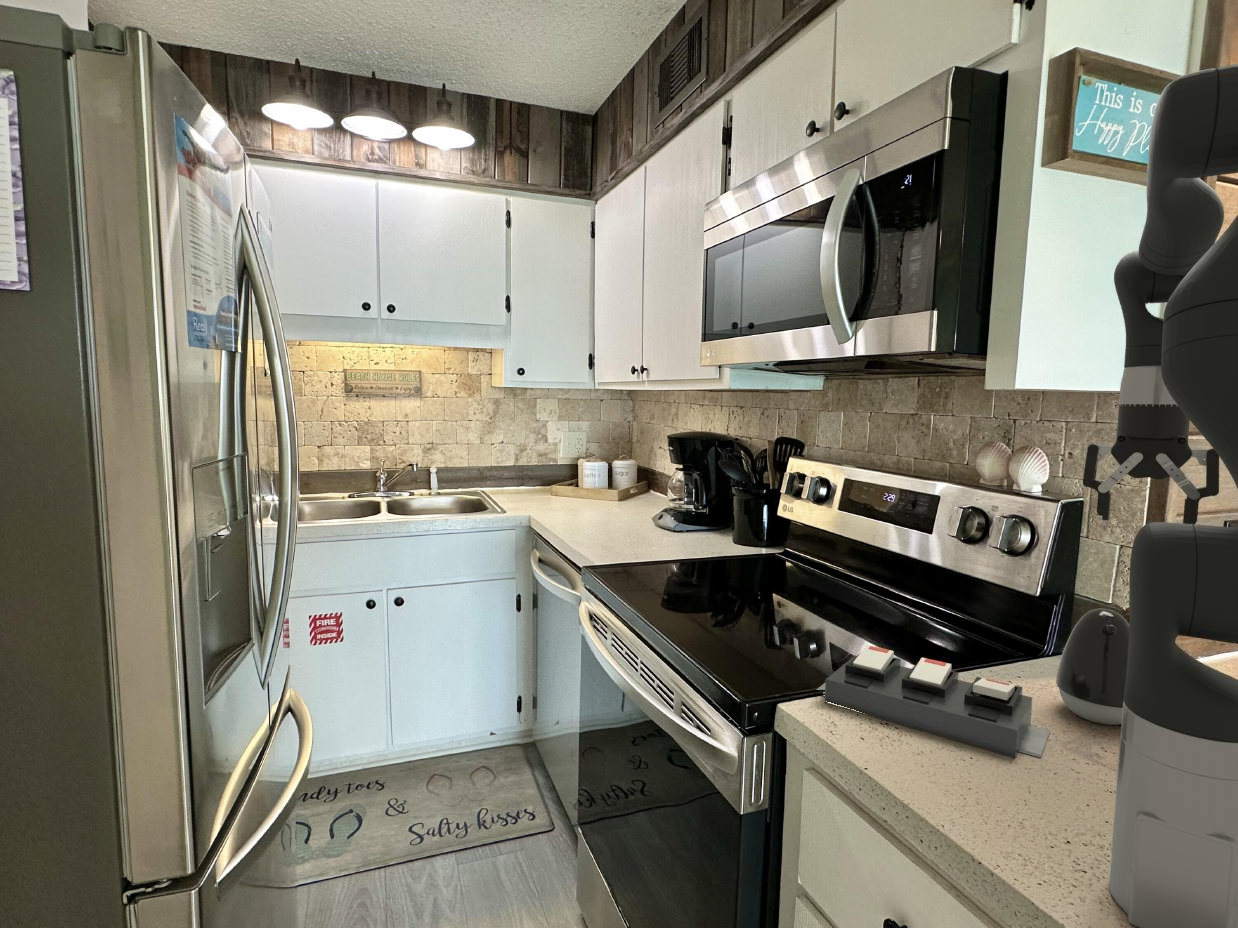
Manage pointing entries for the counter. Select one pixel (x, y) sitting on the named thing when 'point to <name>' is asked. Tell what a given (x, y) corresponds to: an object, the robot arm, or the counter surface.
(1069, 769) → the counter surface
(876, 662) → the rocker
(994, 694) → the rocker
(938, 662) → the middle rocker
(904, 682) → the rocker switch box
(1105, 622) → the pump dispenser
